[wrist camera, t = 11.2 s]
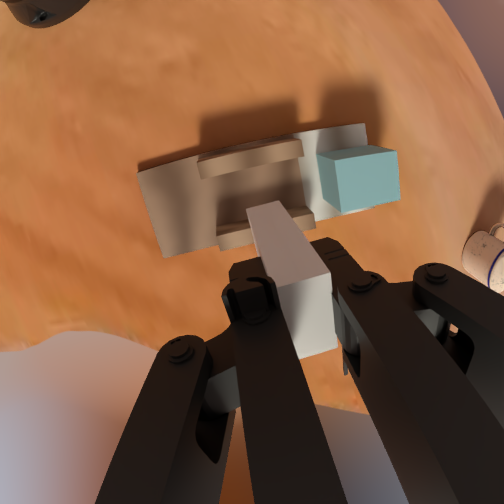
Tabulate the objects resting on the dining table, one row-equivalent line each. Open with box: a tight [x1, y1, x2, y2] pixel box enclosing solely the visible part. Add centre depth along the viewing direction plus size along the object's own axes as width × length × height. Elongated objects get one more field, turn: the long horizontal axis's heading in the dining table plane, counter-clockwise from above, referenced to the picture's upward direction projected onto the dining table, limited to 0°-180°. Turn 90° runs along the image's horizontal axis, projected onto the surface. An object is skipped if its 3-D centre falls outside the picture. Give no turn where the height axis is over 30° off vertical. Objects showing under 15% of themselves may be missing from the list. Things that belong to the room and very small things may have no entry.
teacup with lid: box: [462, 223, 504, 293], centre depth 42 cm, size 12×9×12 cm
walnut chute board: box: [136, 123, 375, 258], centre depth 37 cm, size 30×12×4 cm, turn 101°
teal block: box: [316, 145, 400, 213], centre depth 35 cm, size 8×6×6 cm
